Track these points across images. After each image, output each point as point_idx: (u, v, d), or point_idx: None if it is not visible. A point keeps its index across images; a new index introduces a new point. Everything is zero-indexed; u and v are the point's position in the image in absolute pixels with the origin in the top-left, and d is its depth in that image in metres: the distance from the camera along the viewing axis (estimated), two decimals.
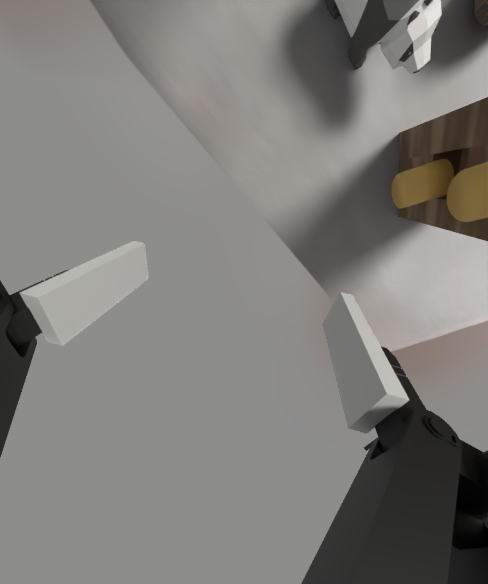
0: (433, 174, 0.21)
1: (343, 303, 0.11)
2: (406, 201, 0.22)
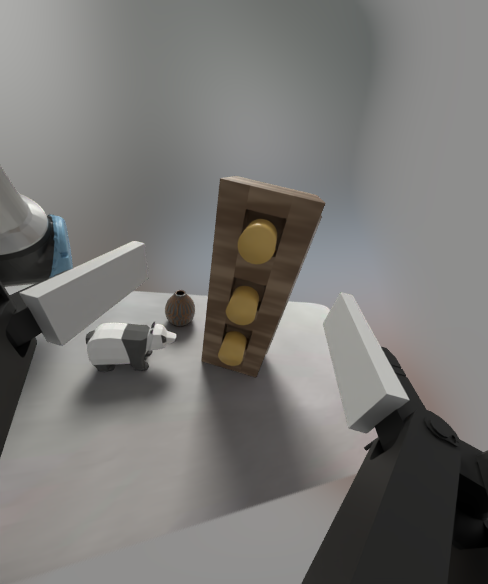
0: (229, 338, 0.32)
1: (342, 303, 0.11)
2: (237, 353, 0.30)
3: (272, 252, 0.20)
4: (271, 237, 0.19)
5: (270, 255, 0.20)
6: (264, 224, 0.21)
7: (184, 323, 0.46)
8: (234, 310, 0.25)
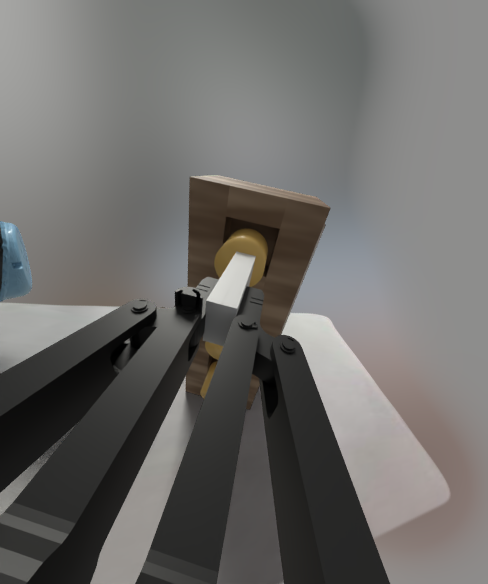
0: None
1: (243, 260, 0.13)
2: None
3: (260, 274, 0.15)
4: (258, 254, 0.14)
5: (258, 278, 0.15)
6: (249, 236, 0.15)
7: None
8: (215, 345, 0.20)
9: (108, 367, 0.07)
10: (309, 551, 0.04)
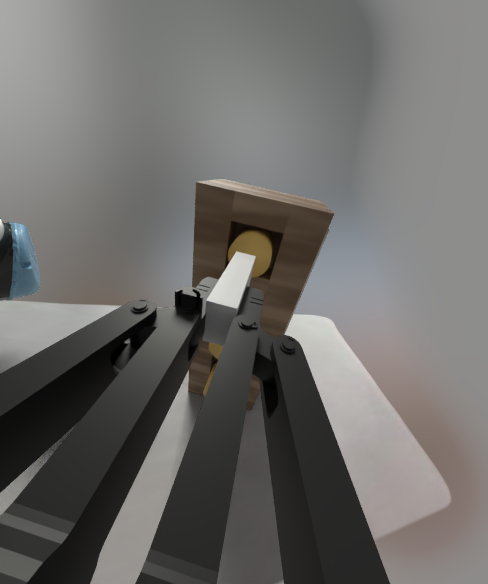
0: None
1: (243, 260, 0.13)
2: None
3: (267, 264, 0.18)
4: (266, 247, 0.17)
5: (265, 268, 0.18)
6: (258, 232, 0.18)
7: None
8: (219, 346, 0.20)
9: (108, 367, 0.07)
10: (309, 551, 0.04)
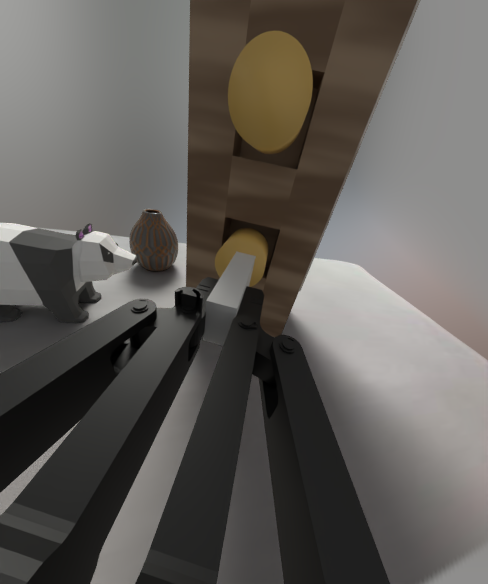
0: (236, 233, 0.16)
1: (243, 260, 0.13)
2: (256, 253, 0.14)
3: None
4: None
5: None
6: None
7: (160, 264, 0.29)
8: (252, 84, 0.09)
9: (108, 367, 0.07)
10: (309, 551, 0.04)
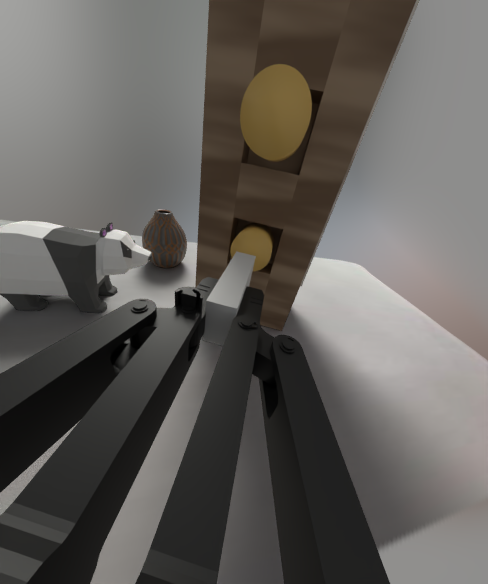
0: (248, 226, 0.20)
1: (243, 260, 0.13)
2: (264, 241, 0.18)
3: None
4: None
5: None
6: None
7: (170, 261, 0.31)
8: (261, 106, 0.11)
9: (108, 367, 0.07)
10: (309, 551, 0.04)
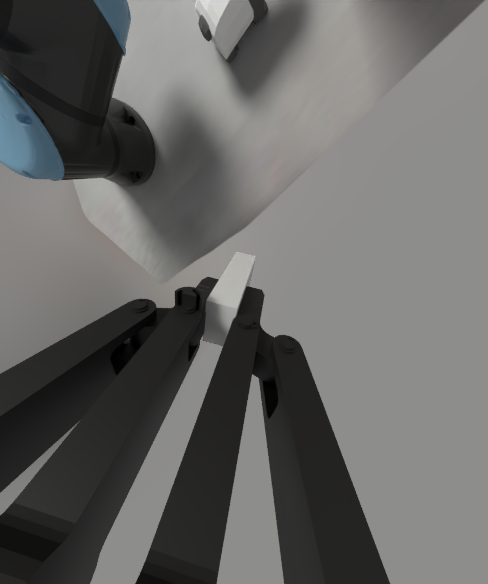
0: None
1: (243, 260, 0.13)
2: None
3: None
4: None
5: None
6: None
7: None
8: None
9: (108, 367, 0.07)
10: (309, 551, 0.04)
